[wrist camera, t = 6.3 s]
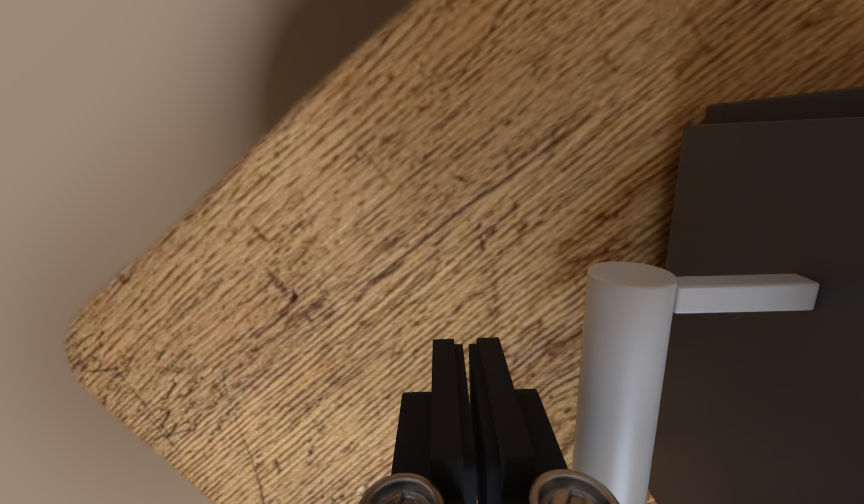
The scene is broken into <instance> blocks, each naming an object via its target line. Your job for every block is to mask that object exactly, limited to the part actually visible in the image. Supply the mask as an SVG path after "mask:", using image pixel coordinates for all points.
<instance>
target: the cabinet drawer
mask: <svg viewBox="0 0 864 504" xmlns="http://www.w3.org/2000/svg"><path fill="white" fill-rule="evenodd" d="M572 470H574V471H579V472H582V473H585V474H587V475H589V476H591V477H593V478H595V479H596V480H598V481H599V482H601V483H602V484H603V485H605V486H606V487H607V488H608V489H609V490H610V492H611V493H612V494H613V495H614V496H615V497H616V499H617V500H618V502H619V503H620V504H646V499H647V492H648V489H649V491H650V492H651V494H652V496H653V497H654V499H655V501H656V502H657V504H864V117H846V118H826V119H805V120H785V121H765V122H744V123H724V124H703V125H686V126H684V128H683V136H682V144H681V151H680V159H679V166H678V174H677V182H676V189H675V197H674V204H673V212H672V220H671V227H670V235H669V242H668V250H667V258H666V265H665V269H662V268H659V267H656V266H652V265H648V264H642V263H636V262H623V261H614V262H603V263H598V264H595V265H592V266H591V267H590V268H589V269H588V271H587V282H586V296H585V309H584V322H583V335H582V348H581V361H580V375H579V388H578V401H577V414H576V427H575V441H574V454H573V467H572Z"/></svg>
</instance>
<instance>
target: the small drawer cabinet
mask: <svg viewBox="0 0 864 504" xmlns="http://www.w3.org/2000/svg"><path fill="white" fill-rule="evenodd" d="M846 117H864V86H862V87H854V88H845V89H837V90H829V91H820V92H812V93H804V94H796V95H787V96H779V97H771V98H762V99H754V100H746V101H737V102H731V103H720V104H712V105H709V106H708V107H707V114H706V121H705V124H724V123H744V122H765V121H785V120H805V119H826V118H846Z"/></svg>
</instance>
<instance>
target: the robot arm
mask: <svg viewBox="0 0 864 504" xmlns="http://www.w3.org/2000/svg"><path fill="white" fill-rule="evenodd" d="M469 378H470V403H469V394H468V386H467V378H466V369H465V361H464V353H463V345H462V344H454V339H433V355H432V392H403V394H402V400H401V407H400V414H399V421H398V429H397V436H396V443H395V450H394V458H393V465H392V472H391V475H390V476H386V477H384V478H382V479H381V480H379V481H377V482H375V483H374V484H373V485H372V486H371V487H370V488H369V489H368V490H367V491H366V492H365V494H364V495H363V497H362V499H361V501H360V502H359V504H477V502H478V504H620V503H619V502H618V500H617V499H616V497H615V496H614V495H613V494H612V493H611V492H610V490H609V489H608V488H607V487H606V486H605V485H603V484H602V483H601V482H599V481H598V480H596V479H595V478H593V477H591V476H589V475H587V474H585V473H582V472H579V471H574V470H570V469H568V468H567V465H566V463H565V460H564V458H563V455H562V453H561V450H560V447H559V445H558V442H557V440H556V437H555V435H554V432H553V430H552V427H551V425H550V422H549V419H548V417H547V414H546V412H545V409H544V407H543V404H542V402H541V399H540V396H539V394H538V392H537V390H536V389H514V386H513V383H512V379H511V376H510V373H509V370H508V366H507V363H506V360H505V356H504V353H503V350H502V347H501V343H500V340H499V337H494V338H477V344H469Z"/></svg>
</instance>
